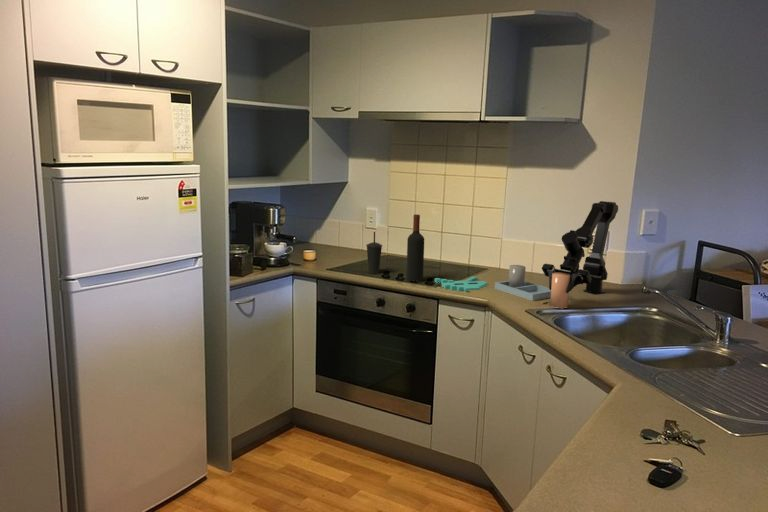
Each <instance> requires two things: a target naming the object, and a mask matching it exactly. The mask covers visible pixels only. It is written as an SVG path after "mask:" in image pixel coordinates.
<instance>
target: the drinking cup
mask: <svg viewBox="0 0 768 512" xmlns="http://www.w3.org/2000/svg"><path fill="white" fill-rule="evenodd" d="M382 248H383V244H381V243H379V242H376V231H373V242H369V243H367V244H366V254H367V256H366V257H367V267H368V270H367V271H368V274H369V273H370V275H378V273H379V274H380V265H381V257H382Z"/></svg>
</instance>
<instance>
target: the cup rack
mask: <svg viewBox="0 0 768 512" xmlns="http://www.w3.org/2000/svg"><path fill="white" fill-rule="evenodd" d="M508 284H509V280H504V281H496V282H494V290H498V291H501V292H504V293H508V294H511V295H514V296H517V297H520V298H523V299H525V300H528V301H539V300H544V299H550V298H551V290H550V289H549V287H547V286H544V285H540V284H537V283H533V282H529V281H528V280H527V281H526V280H525V283H524V286H523V287H517V288H513V287H510V286H508Z"/></svg>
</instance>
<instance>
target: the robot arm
mask: <svg viewBox="0 0 768 512" xmlns="http://www.w3.org/2000/svg"><path fill="white" fill-rule="evenodd" d="M618 212H619V205H618V204H617V203H616V202H614V201H603V200H600V201H598V202H594V203H592V205H591V209H590V211H589V213H588V215H586V216H587V217H586V218H585V220H584V222H583V224H582V225H581V227H579V228H577V229H575V230H573V229H572V230H570V231H568V232H565V233H564V234H563V235H562V236H561V241H562V244H563V247H564V248H565V251H567V254H566V255H564V256H563V262H562V263H561V264H560V265H559V268H556V267H555V266H554V265H555V264H553V263H552V264H550V263H544V264H542V267H541V270H542V272H543V274H544V276H545V277H548V280H549V281H548V288H549V289H550V290H551V285H552V273H557V272H560V273H567V274H570V282H569V285H568V287H567V290H566V293H569V294H570V292H571V291H572V290H573V289H574V288H575V287H577V286H578V285H584V284H585V285H586V286H585V289H582V291H583V292H586V293H589V294H593V295H598V294H603V293H605V290H603V282H604V281H607V280H608V279H607V278H608V275H609V273H608V271H607V269H606V261H605V259H604V254H605V253H604V252H605V248H606V243H607V239H608V238H607V237H608V235H609V229H610V224H611V223H612V222H613V221H614V219H616V216H617V213H618ZM595 229H596V231H595ZM594 231H595V235H594V236H593V234H594ZM591 246H592V248H591V253H590V254H589V255H588V256H586V255H585V250H584V248H585V249H586V248H587V249H589V248H590V247H591ZM585 256H586V257H585ZM582 258H585V260H584V264H583V265H582V269H580V263H581V261H582Z"/></svg>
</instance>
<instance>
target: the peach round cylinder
mask: <svg viewBox="0 0 768 512" xmlns="http://www.w3.org/2000/svg"><path fill="white" fill-rule="evenodd" d="M569 282H570V274H567V273H560V272H557V273H552V285H551V298H549V299H550V300H549V301H550V302H549V307H550V306H553V307H559V308H565V307H567V306H569V305H568V304H569V294H570V292H569V293H566V290H567V287H568V285H569ZM567 308H568V307H567Z"/></svg>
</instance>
